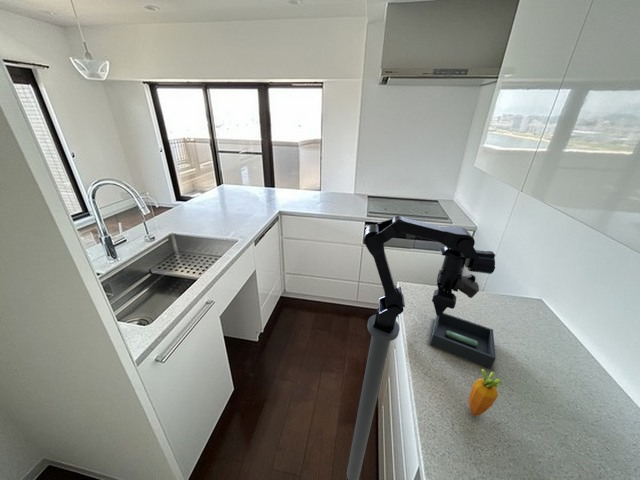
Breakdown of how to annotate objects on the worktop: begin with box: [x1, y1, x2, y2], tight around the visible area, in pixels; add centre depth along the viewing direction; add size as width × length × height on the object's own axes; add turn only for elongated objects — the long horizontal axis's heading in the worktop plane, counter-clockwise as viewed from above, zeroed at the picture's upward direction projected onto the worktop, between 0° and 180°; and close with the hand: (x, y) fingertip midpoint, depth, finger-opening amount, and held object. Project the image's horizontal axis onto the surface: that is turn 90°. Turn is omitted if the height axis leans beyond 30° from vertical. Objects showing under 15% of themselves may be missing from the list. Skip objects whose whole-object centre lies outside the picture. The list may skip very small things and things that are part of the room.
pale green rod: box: [445, 331, 478, 346], centre depth 86 cm, size 10×2×2 cm, turn 61°
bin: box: [429, 312, 497, 370], centre depth 86 cm, size 18×14×5 cm
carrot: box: [468, 368, 502, 417], centre depth 62 cm, size 5×5×15 cm
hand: (439, 307), depth 86 cm, fingers open, 9 cm apart
